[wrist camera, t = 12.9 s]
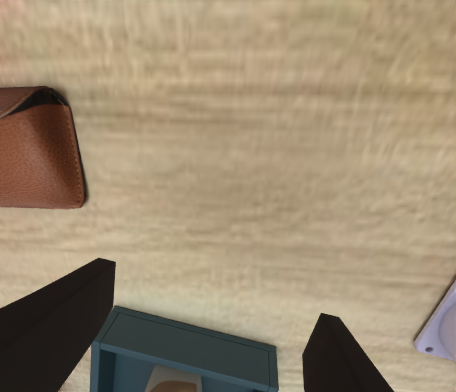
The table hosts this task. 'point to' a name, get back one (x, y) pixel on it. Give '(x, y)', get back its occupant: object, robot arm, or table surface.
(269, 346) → the tray
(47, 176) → the sunglasses case
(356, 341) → the robot arm
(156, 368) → the cosmetic box
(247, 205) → the table surface
